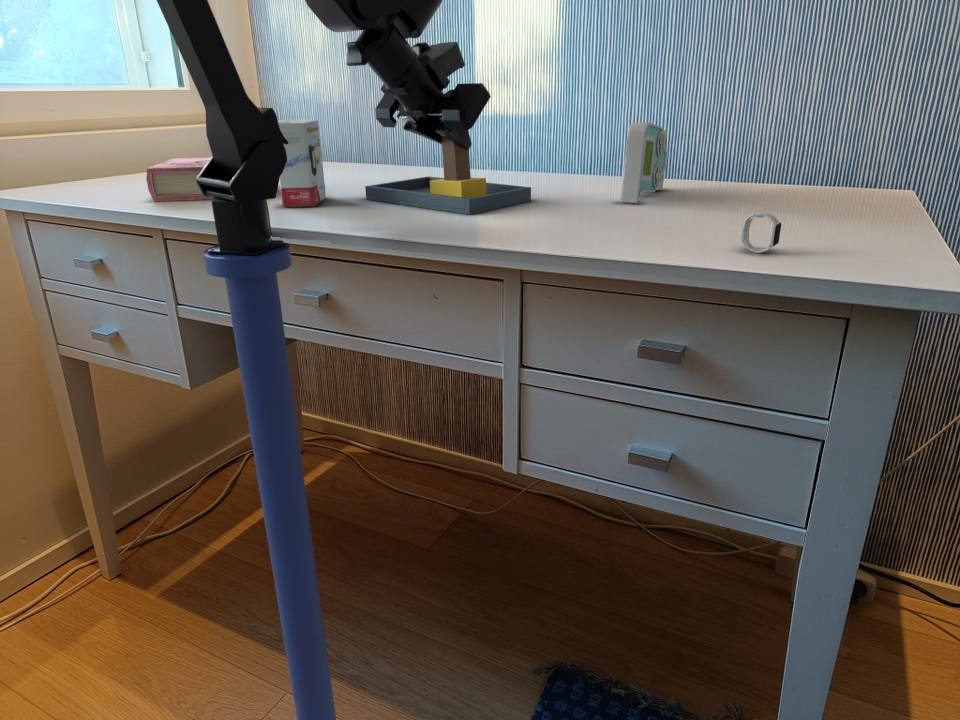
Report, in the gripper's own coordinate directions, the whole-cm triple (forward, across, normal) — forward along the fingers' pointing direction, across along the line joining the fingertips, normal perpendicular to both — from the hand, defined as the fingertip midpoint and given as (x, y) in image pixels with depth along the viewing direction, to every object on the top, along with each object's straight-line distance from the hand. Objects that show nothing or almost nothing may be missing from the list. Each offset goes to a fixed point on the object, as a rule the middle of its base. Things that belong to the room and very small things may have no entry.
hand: (462, 146), depth 101 cm
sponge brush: (+4, 0, +6) cm, 7 cm away
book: (-10, +39, +21) cm, 45 cm away
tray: (+4, +2, +7) cm, 8 cm away
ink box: (-7, +17, +17) cm, 25 cm away
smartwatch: (+3, -47, +8) cm, 48 cm away
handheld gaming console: (+20, -19, -8) cm, 29 cm away
